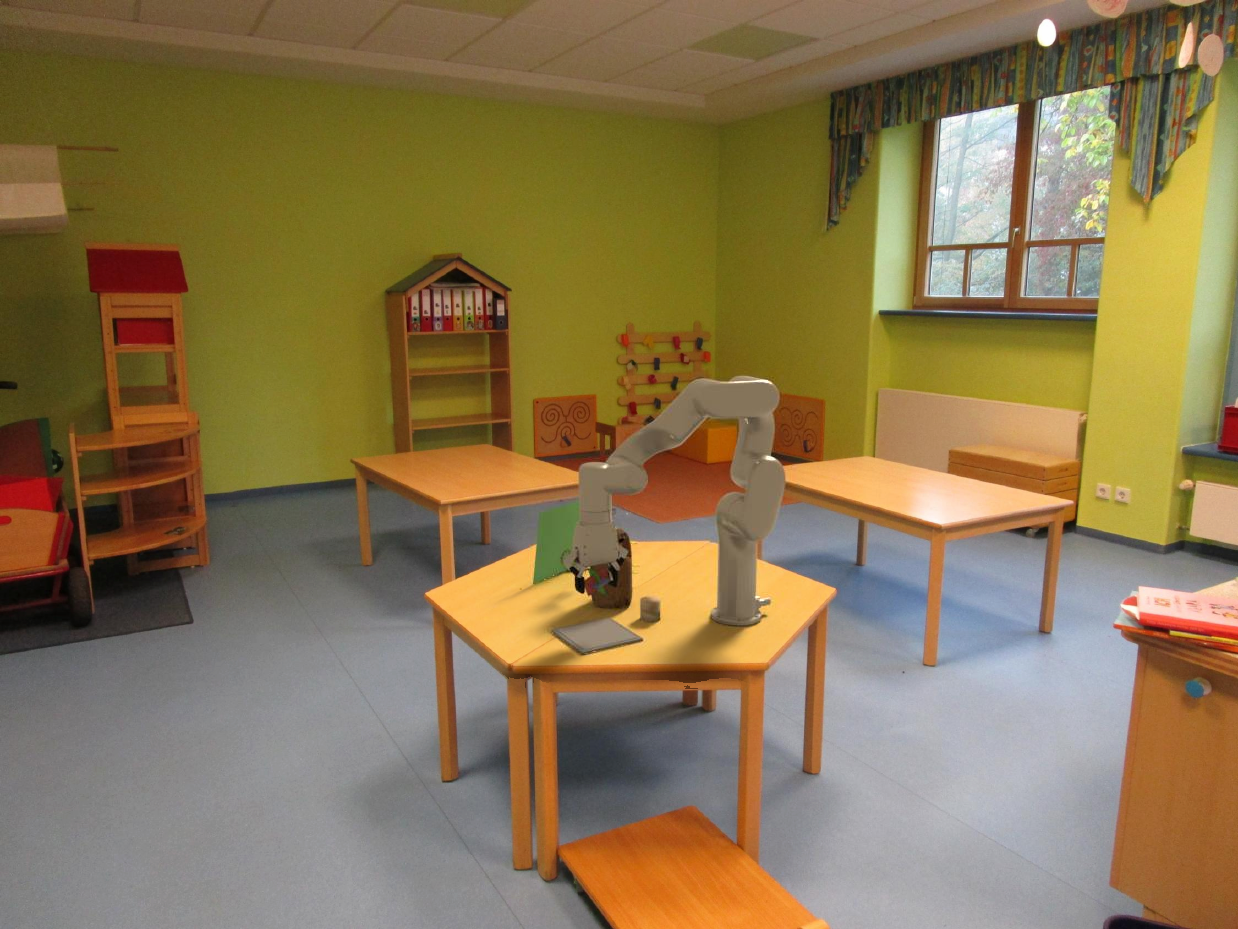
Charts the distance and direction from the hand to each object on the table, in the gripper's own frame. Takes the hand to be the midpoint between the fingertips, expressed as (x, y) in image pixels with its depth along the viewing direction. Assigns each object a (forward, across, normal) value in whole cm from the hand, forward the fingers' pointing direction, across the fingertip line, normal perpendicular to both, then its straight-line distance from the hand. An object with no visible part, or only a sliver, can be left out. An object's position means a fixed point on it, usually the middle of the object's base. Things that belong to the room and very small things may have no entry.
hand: (596, 588), depth 206 cm
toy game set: (+12, -18, -35) cm, 41 cm away
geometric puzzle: (+2, 0, 0) cm, 2 cm away
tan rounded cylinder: (+12, -17, -3) cm, 21 cm away
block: (+12, -14, -17) cm, 25 cm away
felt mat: (+12, 0, 0) cm, 12 cm away
